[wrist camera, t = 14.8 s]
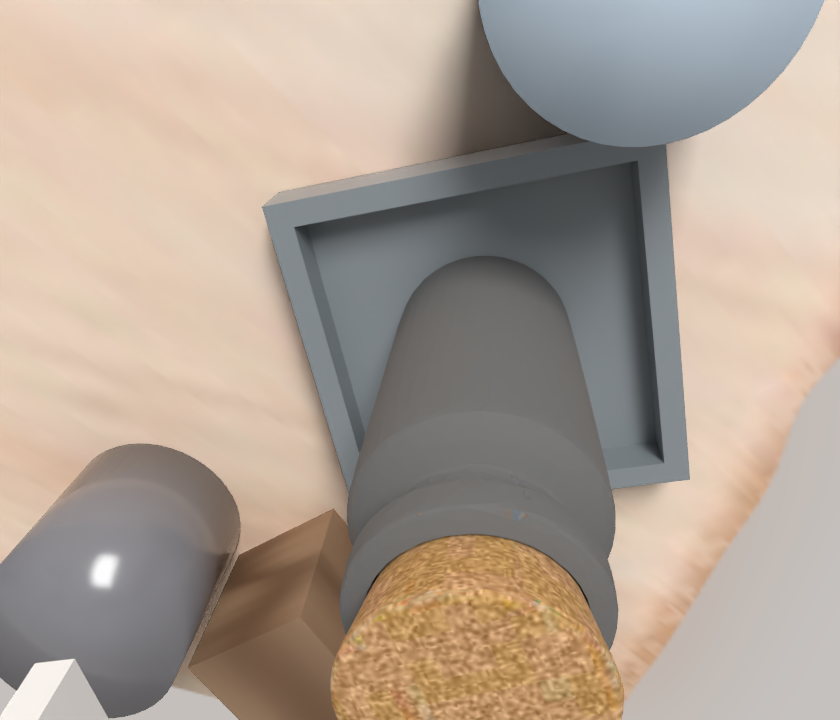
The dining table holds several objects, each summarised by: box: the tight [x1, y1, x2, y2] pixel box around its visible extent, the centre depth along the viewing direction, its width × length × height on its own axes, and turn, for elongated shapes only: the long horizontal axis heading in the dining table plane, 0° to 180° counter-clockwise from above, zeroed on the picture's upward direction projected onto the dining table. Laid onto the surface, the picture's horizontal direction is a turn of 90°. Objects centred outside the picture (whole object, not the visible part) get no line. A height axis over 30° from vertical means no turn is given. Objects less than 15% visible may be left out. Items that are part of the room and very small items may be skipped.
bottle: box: [330, 256, 624, 720], centre depth 18 cm, size 6×6×15 cm
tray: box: [262, 133, 690, 492], centre depth 25 cm, size 12×12×2 cm
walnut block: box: [188, 509, 353, 720], centre depth 29 cm, size 5×5×6 cm
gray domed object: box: [0, 444, 240, 718], centre depth 27 cm, size 7×7×7 cm
